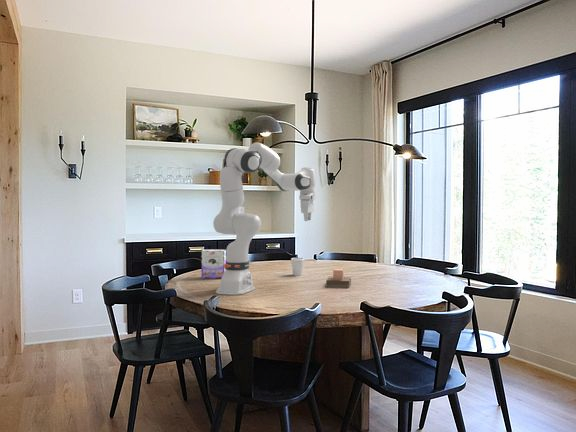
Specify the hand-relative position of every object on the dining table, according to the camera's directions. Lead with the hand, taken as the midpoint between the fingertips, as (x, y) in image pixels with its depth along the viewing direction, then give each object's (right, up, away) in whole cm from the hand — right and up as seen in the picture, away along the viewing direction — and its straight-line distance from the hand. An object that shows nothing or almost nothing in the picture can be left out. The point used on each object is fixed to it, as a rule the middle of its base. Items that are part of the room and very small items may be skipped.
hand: (307, 220), depth 268 cm
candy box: (-55, -34, +7) cm, 65 cm away
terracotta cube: (+16, -31, -17) cm, 39 cm away
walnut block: (+16, -35, -16) cm, 42 cm away
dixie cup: (-5, -33, +16) cm, 37 cm away
